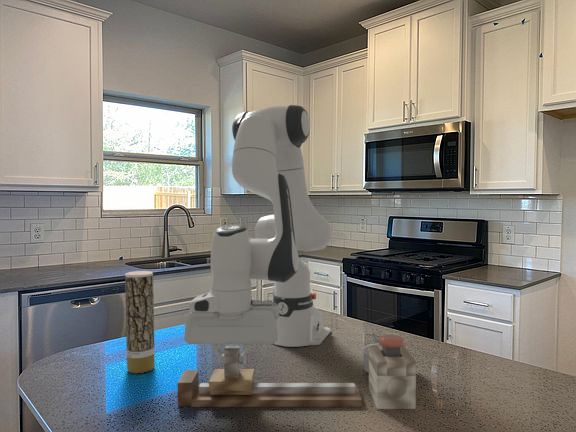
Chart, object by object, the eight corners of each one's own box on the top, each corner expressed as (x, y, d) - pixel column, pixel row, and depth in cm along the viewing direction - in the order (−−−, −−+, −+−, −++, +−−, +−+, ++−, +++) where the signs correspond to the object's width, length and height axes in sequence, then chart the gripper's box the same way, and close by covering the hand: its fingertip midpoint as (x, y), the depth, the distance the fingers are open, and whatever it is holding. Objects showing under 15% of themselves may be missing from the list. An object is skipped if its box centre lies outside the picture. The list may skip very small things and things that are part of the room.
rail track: (175, 409, 93) (174, 362, 92) (187, 388, 103) (186, 346, 103) (416, 409, 92) (416, 362, 92) (403, 388, 103) (403, 345, 102)
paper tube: (146, 375, 111) (144, 275, 110) (121, 373, 112) (119, 275, 111) (159, 365, 118) (157, 271, 117) (136, 363, 119) (134, 270, 118)
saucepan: (393, 352, 127) (393, 333, 127) (414, 381, 107) (414, 358, 107) (353, 353, 127) (353, 333, 127) (367, 382, 107) (367, 359, 107)
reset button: (381, 361, 95) (381, 342, 95) (377, 352, 100) (377, 334, 100) (406, 361, 95) (406, 342, 95) (400, 352, 100) (400, 334, 100)
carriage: (208, 397, 95) (208, 353, 94) (214, 383, 102) (214, 342, 101) (251, 397, 95) (251, 353, 94) (254, 383, 102) (253, 342, 101)
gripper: (279, 297, 100) (279, 357, 101) (188, 297, 101) (189, 357, 101) (278, 303, 94) (279, 368, 95) (181, 304, 94) (182, 368, 95)
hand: (232, 362), depth 98 cm, fingers closed on carriage, 3 cm apart
